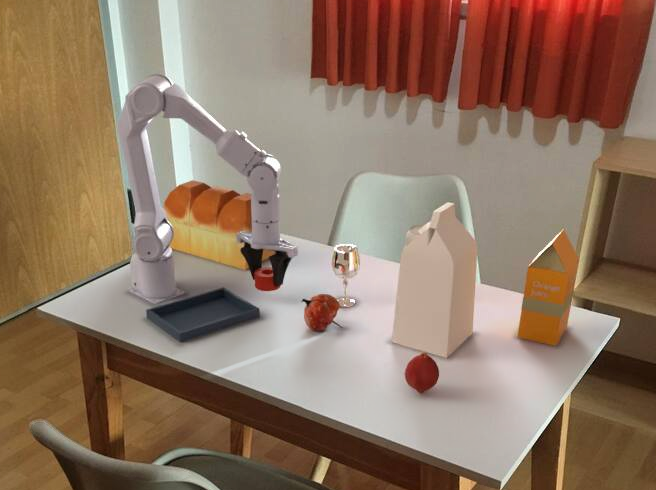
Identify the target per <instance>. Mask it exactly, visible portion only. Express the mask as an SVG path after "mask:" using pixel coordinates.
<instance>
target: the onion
mask: <svg viewBox="0 0 656 490" xmlns="http://www.w3.org/2000/svg"><path fill="white" fill-rule="evenodd" d="M404 378H405V381H406V383H407V385H408V386H409V387H410V388H411V389H413V390H414V391H416V393H418V394H424V393H425V392H427V391H429V390H431V389H432V388H434V387H435V386H436V385H437V384H438V382H439V378H440V369H439V366H438V363H437V362H436V361H435V360H434V358H432V356H430V355H428V352H424V351H421V353H420V354H417V355H416V356H414V357H413V358H412V359H410V361H408V363H407V364H406V367H405V370H404Z"/></svg>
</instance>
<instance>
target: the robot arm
mask: <svg viewBox="0 0 656 490" xmlns="http://www.w3.org/2000/svg"><path fill="white" fill-rule="evenodd" d="M162 112H163V114H162V118H163V119H179V120H181V121H184V122H185V123H186V124H188V125H189V126H190V127H192V128H193V129H194V130H196V131H197V132H198V133H200V134H201V135H203V136H204V137H205V138H206V139H207V140H209V141H211V142H212V143H213V144H214V145H215V148H216V153H217V156H219V157H220V158H221V159H222V160H224V161H225V162H226V163H228V164H229V165H230V166H231V167H232V168H234V169H235V170H236V172H237V171H238V173H239V174H241V175H242V176H244V177H246V180H247V181H246V182H247V184H248V186H249V187H250V192H251V193H250V194H251V195H252V196H251V216H252V233H249V232H244V231H242V232H239V233H237V234H236V239H237V243H244V247H242V248H241V249H240V250H241V253H242V255H243V256H244V258H245V260H246V261H247V264H248V266H249V268H248V269H249V272H250V275H251V278H252V280H253V281H255V278H254V272H255V270H257V269H259V268H263V261H262V255H263V250H264V249H267V250H271V251H274V252H276V254H273V255H271V256H269V258H268V260H269V262H270V266H271V267H272V270H273V282H274V286H275V287H278V286H280V285H281V286H283V284H284V280H285V276H286V272H287V270H288V267H289V264H290V263H291V260H292V259H293V258H295V257H297V256H298V255H299V253H298V252H299V251H298V247H299V246H298V245H295V244H293V243H290V242H289V241H287V240H286V239H283V238H282V237H281V197H280V185H279V179H280V177H281V173H282V167H281V164H280V162H279V161H278V159H277V158H276V157H275V155H273V154H271V153H267V152H266V151H265V150H264V149H262V150H260V149H259V148H258V147H257V146H256V145H254V144H253V143H252V142H251V141H249V139H247V137H248V135H247V134H246V133H245V132H244V131H241V132H239V131H238V130H236V129H232V130H231V129H230V130H227V129H225V127H223V126H222V125H221V124H220V123H219V122H218V121H217V120H216V119H215V118H214V117H212V116H211V115H210V114H209V113H208V112H207V111H206V110H205V109H204V108H203V107H201V106H200V105H199V104H198V103H197V102H196V101H195V100H194V99H193V98H191V96H189V95H188V93H187V92H186V91H185V90H184V89H183V88H182V87H181V86H180V85H178V84H176V83H175V82H172V80H171V79H170V78H169V77H168V76H166V75H164V74H162V73H152V74H150V75H149V76H147V77H146V78H144V80H142V81H141V82H139V83H137V84H135V85H134V86H133V87H132V88H131V89H130V91H128V93H127V94H126V95H125V96H124V103H123V106H122V108H121V111H120V115H119V118H118V119H117V128H118V132H119V138H120V143H121V147H122V153H123V157H124V163H125V167H126V172H127V176H128V181H129V186H130V190H131V191H130V192H131V196H132V200H133V206H134V211H135V217H134V222H133V230H134V237H133V241H132V248H133V250H134V253H133V254H132V255H131V258H130V262H129V267H130V276H131V283H132V288H131V289H129V293H132V294H133V295H136V296H138V297H140V298H142V299H144V300H146V301H148V302H150V303H152V304H155V305H158V304H160V303H162V302H165V301H168V300H172V299H174V298H176V297H180V296H181V295H185V293H186V292H185V291H184V290H182V289H180V288H178V287H177V285H176V272H175V261H174V252H173V249H172V248H171V247H170V244H169V243H170V242H171V241H172V240H173V237H174V230H173V227H172V225H171V224H170V222H169V221H168V219H167V216H166V212H165V210H164V207H162V203H161V200H160V194H159V189H158V183H157V177H156V173H155V168H154V163H153V156H152V151H151V147H150V146H151V145H150V141H149V136H148V131H147V128H148V126H149V125H151V122H153V120H154V119H155V118H156V117H158V116H159V115H160V114H161V113H162ZM281 286H280V287H281Z"/></svg>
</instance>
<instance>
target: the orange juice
mask: <svg viewBox="0 0 656 490" xmlns="http://www.w3.org/2000/svg"><path fill="white" fill-rule="evenodd" d="M579 263H580V259H579V257H578V255H577V252H576V251H575V249H574V247H573V245H572V243H571V240H570V238H569V236H568V234H567V233H566V231H565V229H564V228H563V229H562V230H561V231H560V232H559V233H558V234H557V235H556V236H555V237H553V239H552V240H551V241H550V242H548V244H547V245H546V246H545V247H544V248H543V249H542V250H541V251H539V253H537V255H536V256H535V257H534V258H533V260H532V261H531V262H530V264H529V265H528V266H527V271H526V278H525V284H524V290H523V297H522V303H521V311H520V318H519V322H518V323H519V324H518V330H517V338H519V339H522V340H523V339H524V340H528V341H532V342H537V343H541V344H546V345H550V346H553V347H554V346H555V347H557V344H558V343H559V341H560V340H561V338H562V336H563V335H564V333H565V332H566V330H567V328H568V323H569V318H570V312H571V306H572V301H573V297H574V292H575V285H576V279H577V274H578V268H579Z"/></svg>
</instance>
